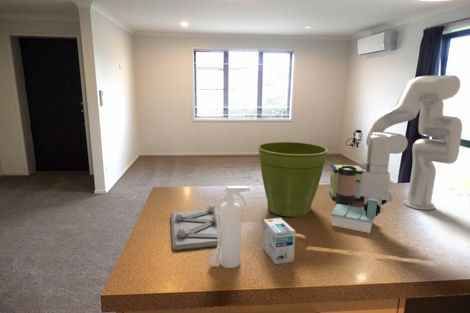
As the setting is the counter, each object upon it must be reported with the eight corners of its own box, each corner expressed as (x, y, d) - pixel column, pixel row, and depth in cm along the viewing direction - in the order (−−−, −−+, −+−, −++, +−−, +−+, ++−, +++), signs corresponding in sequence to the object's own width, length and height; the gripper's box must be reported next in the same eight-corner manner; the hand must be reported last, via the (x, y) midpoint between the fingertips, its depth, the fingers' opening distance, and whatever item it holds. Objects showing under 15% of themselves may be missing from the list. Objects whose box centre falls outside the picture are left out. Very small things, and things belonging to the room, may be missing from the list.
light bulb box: (294, 261, 97) (296, 230, 95) (274, 265, 95) (276, 233, 93) (280, 245, 107) (281, 216, 105) (262, 248, 105) (263, 219, 103)
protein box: (328, 192, 162) (330, 164, 158) (359, 194, 159) (362, 165, 156) (331, 199, 151) (334, 169, 148) (364, 201, 149) (368, 170, 146)
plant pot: (294, 230, 118) (299, 158, 112) (242, 207, 140) (243, 146, 134) (336, 211, 137) (341, 148, 131) (284, 193, 159) (287, 139, 153)
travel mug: (354, 215, 133) (358, 170, 129) (335, 213, 134) (339, 169, 130) (351, 208, 140) (355, 166, 136) (333, 207, 142) (337, 165, 137)
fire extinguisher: (204, 260, 97) (207, 185, 91) (240, 254, 102) (244, 182, 96) (211, 272, 91) (214, 192, 85) (248, 265, 96) (253, 189, 90)
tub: (336, 217, 131) (337, 206, 130) (372, 224, 124) (373, 212, 123) (331, 227, 121) (332, 215, 120) (369, 235, 115) (371, 223, 114)
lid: (336, 205, 130) (338, 190, 129) (376, 212, 123) (378, 196, 122) (331, 215, 120) (332, 199, 118) (374, 223, 113) (376, 206, 111)
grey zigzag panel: (170, 217, 131) (170, 201, 129) (220, 213, 136) (220, 197, 134) (172, 253, 102) (172, 233, 101) (235, 246, 107) (235, 227, 105)
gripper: (352, 167, 115) (347, 213, 119) (401, 173, 107) (395, 222, 111) (354, 163, 121) (350, 206, 125) (401, 168, 114) (395, 214, 118)
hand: (371, 213), depth 118 cm, fingers closed on lid, 3 cm apart
